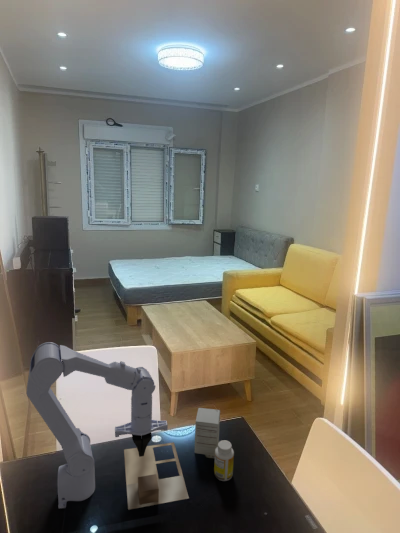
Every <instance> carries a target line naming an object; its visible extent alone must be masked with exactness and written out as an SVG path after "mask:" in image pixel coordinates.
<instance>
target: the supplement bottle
mask: <svg viewBox="0 0 400 533" xmlns="http://www.w3.org/2000/svg"><path fill="white" fill-rule="evenodd" d="M234 456H235V450H234V449H233V446H232V443H231V442H230V441H229V440H225V439H224V440H222V439H221V440H219V443H218V447H217V448H216V449H215V458H214V467H213V475H214V477H215V478H216V479H217V480H219V481H222V482H227V481H230V480H231V479H232V478H233V474H234V458H235V457H234Z"/></svg>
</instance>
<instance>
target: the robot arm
mask: <svg viewBox="0 0 400 533" xmlns="http://www.w3.org/2000/svg"><path fill="white" fill-rule="evenodd" d="M76 371H77V372H80V373H84V374H89V375H93V376H97V377H101V378H104V381H105V383H106V384H108V385H110V386H114V387H118V388H122V389H124V390H128V391H131V398H130V400H131V401H130V402H131V403H130V404H131V405H130V409H131V410H130V412H131V413H130V422H127V423H124V424H121V425H118V426H115V427H114V438H119V437H120V436H123V435H131V439H132V443H133V444H134V445H135V446H136V447H135V448H137V449H138V452H139V457H141V456H144V453H145V450H146V447H147V446H149V443H150V442H151V440H152V438H153V437H152V436H153V435H152V433H153V432H157V431H162V430H163V431H166V432H167V431H168V429H169V428H168V426H169V424H168V421H167V420H157V419H156V420H155V419H153V393H154V391H155V389H156V385H155V381H154V380H153V377H152V375H151V373H150V372H149V371H148V369H147V368H145V367H143V366H138V367H136V368H135V367H133V366H129V365H126V362H124V361H121V360H120V362H117V361H113V362H110V363H107V362H104V361H101V360H98V359H95V358H93V357H90V356H88V355H86V354H83V353H80V352H78V351H76V350H73V349H72V348H70V347H68V346H66V345H63V344H59V345H58V344H57V343H55V342H51V341H48V342H47V341H46V342H44V343H41V344H39V345H38V346H37V347H36V349H35V350H34V352H33V354H32V356H31V358H30V364H29V370H28V377H27V382H26V397H27V398H28V399H29V401H30V402H31V404H32V405H33V406H34V408H35V409H36V411H37V413H39V415H40V417H41V418H42V419H43V421H44V423H45V424H46V425H47V427H48V428H49V429H50V432H51V433H52V434H53V437H55V439H56V441H57V442H58V443H59V445H60V447H61V449H62V452H63V455H64V459H65V460H66V463H65V464H62V465H60V466H58V471H57V495H58V496H57V499H58V501H57V502H58V505H57V506H58V509H60V510H61V509H66V507H67V502H82V501H85V500H87V499H88V498H90V497H91V496H92V495H93V494H94V492H95V491H96V477H95V476H96V475H95V474H96V473H95V459H94V456H93V452H92V447H91V438H90V436H89V435H88V434H87V433H84V432H83V431H81V428H79V427H76V425H75V423H74V422H73V421H72V420H71V417H70V416H69V414H68V413H67V412H66V410H65V409H64V407H63V406H62V404H61V402H60V401H59V400H60V399H58V397H57V396H56V394H55V393H54V391H53V389H52V388H51V387H52V385H53V384H54V383H56V381H58V379H59V378H60V377H61V375H62V374H63V377H64V378H65V377H67V376H69V375H70V374H72V373H73V372H76Z"/></svg>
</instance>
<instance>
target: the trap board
mask: <svg viewBox="0 0 400 533" xmlns="http://www.w3.org/2000/svg"><path fill="white" fill-rule="evenodd" d="M175 444H176V443H175V442H174V441H173V442H167V443H160V444H153V445H152V444H151V445H147V447H146V450H145V453H144V456H141V457H139V452H138V449H137V447H132V448H125V449H123V454H124V455H123V456H124V469H125V470H124V471H125V482H126V484H125V485H126V496H127V509H128V511H130V510H134V509H139V508H144V507H150V506H151V507H152V506H154V505H155V506H157V505H161V504H165V503H166V504H167V503H172V502H177V501H182V500H188V499H190V497H189V494H188V490H187V489H188V488H187V487H186V486H187V485H186V482H185V478H184V475H183V470H182V467H181V463H180V460H179V457H178V452H177V448H176V446H175ZM168 446H171V450H172V453H173V455H174V456H173V457H174V458H170V459H168V458H167V459H163V460H156V457H155V456H156V455H155V453H154V452H155V451H154V448H160V447H168ZM170 462H175V464H176V468H177V473H178V475H176V476H171V477H165V478H159V473H158V469H157V464H158V465H159V464H163V463H164V464H165V463H170ZM154 474H156V476H157V481H158V487H159V501H158V502H152V503H147V504H142V505H139V495H138V477H142V476H148V475H154Z"/></svg>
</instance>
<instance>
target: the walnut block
mask: <svg viewBox="0 0 400 533" xmlns="http://www.w3.org/2000/svg"><path fill="white" fill-rule="evenodd" d="M138 495H139V505H142V504H147V503H152V502H158V501H159V487H158V481H157V476H156V474H154V475H148V476H142V477H138Z"/></svg>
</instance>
